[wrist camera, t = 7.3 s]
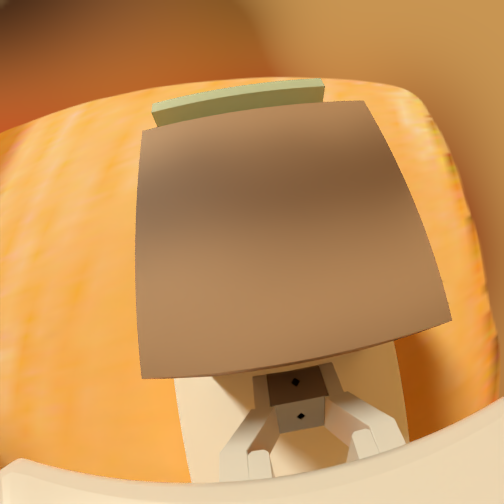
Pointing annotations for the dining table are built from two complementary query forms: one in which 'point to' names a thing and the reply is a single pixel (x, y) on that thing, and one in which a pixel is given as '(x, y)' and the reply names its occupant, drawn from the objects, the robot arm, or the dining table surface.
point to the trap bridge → (240, 385)
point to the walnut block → (276, 242)
